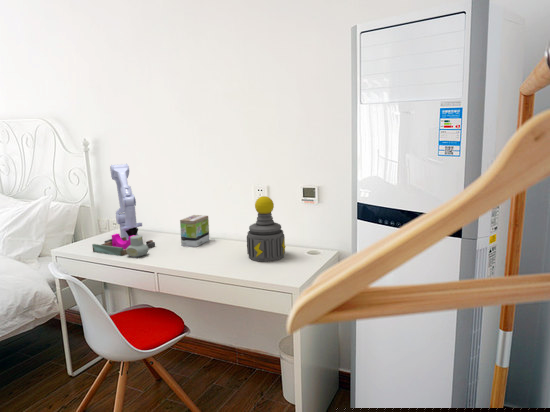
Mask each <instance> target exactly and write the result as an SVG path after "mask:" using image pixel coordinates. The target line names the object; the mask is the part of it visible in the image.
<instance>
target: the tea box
mask: <svg viewBox="0 0 550 412" xmlns="http://www.w3.org/2000/svg"><path fill="white" fill-rule="evenodd" d="M179 223H180V227H179V228H180V243H181V246H182V247H192V248H196V247H199V246H201V245H202V244H204V243H207V242H208V241H210V224H209V223H210V222H209V215H203V214H200V215H199V214H193V215H190V216H188V217H185V218H182V219H180V220H179Z"/></svg>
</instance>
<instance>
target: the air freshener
mask: <svg viewBox="0 0 550 412" xmlns="http://www.w3.org/2000/svg"><path fill="white" fill-rule="evenodd" d="M130 241H131V245H130V246H128V248H127V249H126V252H127V254H126V255H128V256H130V257H132V258H139V257H143V256H145V255H146V254H148V252H149V250H150V249H149V248H148V246H147V245H146V243H144V240H143V235H140V234H139V235H136V236H132V237H131V238H130Z"/></svg>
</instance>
